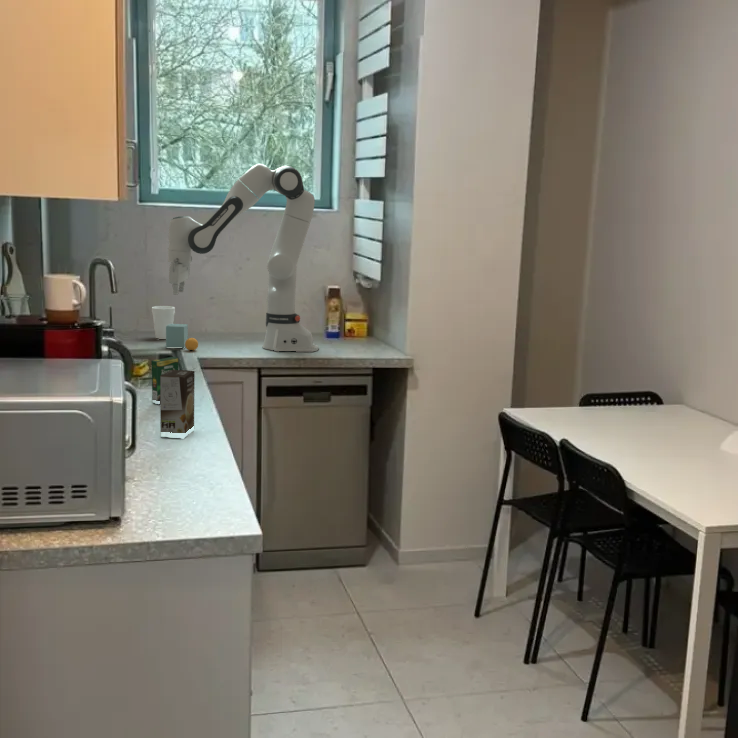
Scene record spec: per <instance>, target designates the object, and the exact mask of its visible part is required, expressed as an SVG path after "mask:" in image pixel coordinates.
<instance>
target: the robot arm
mask: <svg viewBox="0 0 738 738" xmlns="http://www.w3.org/2000/svg"><path fill="white" fill-rule="evenodd" d="M271 190H273V191H276V192H277V193H278V194H280V195H283V196H285V198H286V204H285V208H284V211H283V215H282V218H281V221H280V223H279V226H278V230H277V232H276V235H275V239H274V242H273V244H272V248H271V250H270V254H269V257H268V259H267V262H266V269H267V272H268V278H267V279H268V281H267V282H268V283H267V299H266V300H267V301H266V302H267V306H266V307H267V308H266V311H267V312H266V314H265V327H266V328H265V329H266V330H265V336H264V340H263V344H262V348H263V349H264V350H269V351H270V350H271V351H273V350H274V351H273V352H279V351H296V352H299V353H300V352H301V353H305V352H307V353H309V352H312V353H313V352H317V351H318V350H319V345H318V344H316V343H314V338H313V334H312V332H311V331H310V330H309V329H308V328H306V327H305V326H304V325H303V324H301V323H300V321H301V316H300V314H297V313H296V311H295V310H296V288H297V286H296V285H297V284H296V283H297V282H296V281H297V264H298V261H299V258H300V255H301V252H302V249H303V246H304V244H305V241H306V240H305V239H306V237H307V235H308V230H309V227H310V225H311V222H312V218H313V214H314V209H315V201H316V200H315V197H314V195H313V194H312V193H311V192H310V191H309V190H306V189H305V188H304V183H303V178H302V175H301V173H300V172H299V170H297V169H296V168H295V167H292V166H291V165H283V166H280V167H277V168H274V169H270V168H269V167H268V166H267V165H265V164H264V163H257V164H254V165H253V166H250V168H249V169H248V170H246V171H245V172H244V173H243V174H242V175H241V176H240V177H238V179H237V180H236V181H235V183H233V185H231V188H230V189H229V191H228V193H227V194H226V197H225V199H224V200H223V202H222V205H221V206H220V207H219V209H218V210H217V211H215V212H214V214H213V215H212V216H211V217H210V218H209V219H208V221H206V222H205V223H200V222H198V221H196V220H194V219H193V218H192V217H191V216H190V215H181V216H174V217H173V218H171V220H170V221H169V227H168V241H169V243H168V248H167V249H168V251H167V262H168V263H170V265H169V269H168V271H169V272H168V284H172V295H175V296H178V295H179V293H183V292H185V285H186V281H188V280H189V278H190V271H191V263H192V262H193V261H192V260H193V257H192V252H194V253H197V254H200V255H202V254H203V255H204V254H207V253H210V252H211V251H212V250H213V248H215V247H214V246H215V244H216V242H217V238H218V236H219V235H220V234H221V232H222V231H224V229H225V228H226V227H227V226H228V225H229V224H230V223H231V222H232V220H234V219H235V218H236V217H238V216H240V215H241V214H243V213H245V212H246V211H248V210H249V209H251V208H252V207H253V206H254V205H256V204H257V203H258V202H259V200H260V199H261V198H262V197H263V196H264V195H265V194H266V193H267V192H268V191H271Z"/></svg>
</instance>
